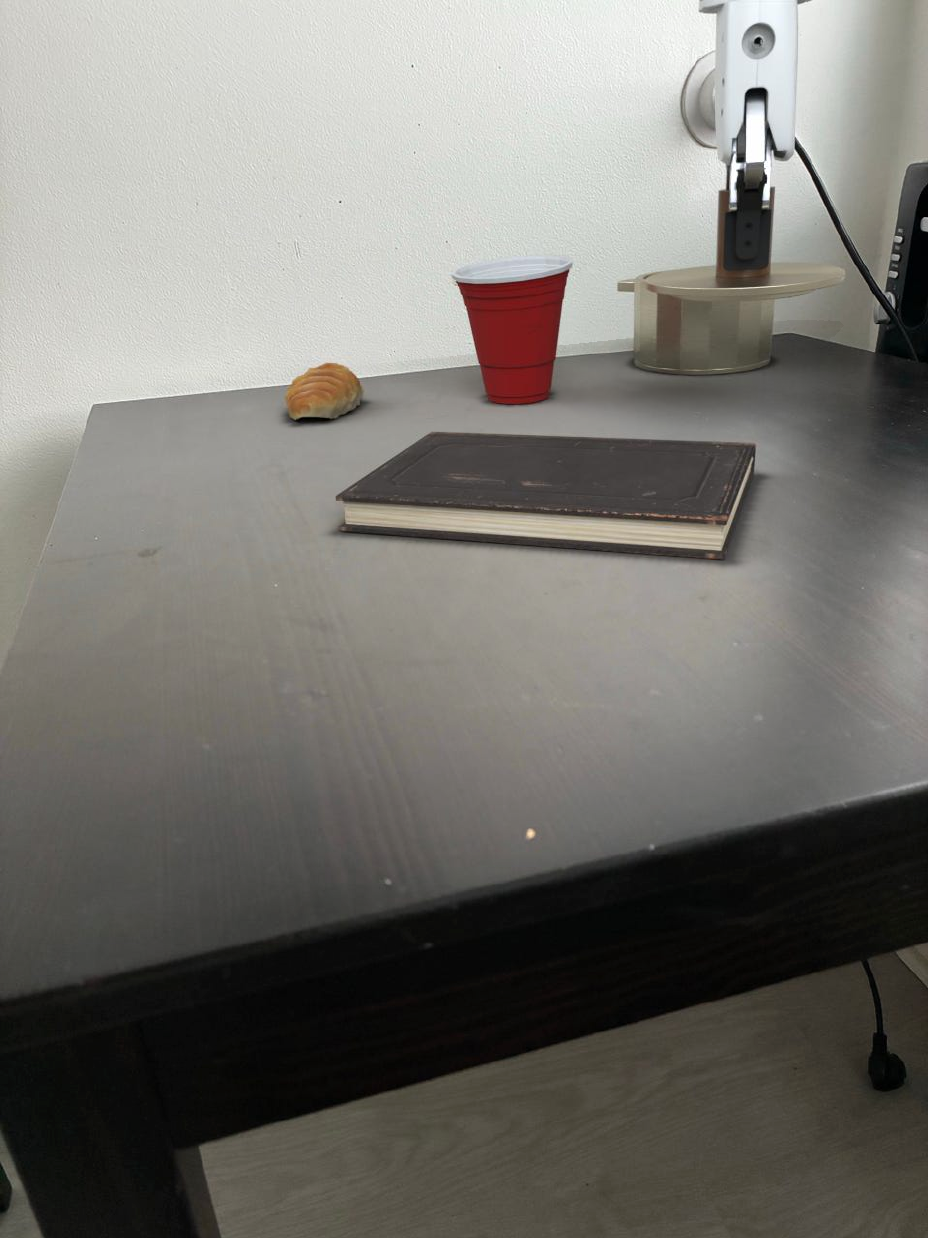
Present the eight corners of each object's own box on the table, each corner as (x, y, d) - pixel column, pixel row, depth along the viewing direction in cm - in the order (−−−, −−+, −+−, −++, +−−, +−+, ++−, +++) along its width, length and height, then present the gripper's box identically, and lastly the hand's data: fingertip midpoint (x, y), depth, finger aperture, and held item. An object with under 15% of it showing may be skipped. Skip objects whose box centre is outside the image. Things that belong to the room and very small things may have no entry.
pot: (655, 344, 113) (656, 265, 109) (818, 356, 101) (825, 268, 98) (587, 366, 104) (586, 280, 100) (758, 381, 92) (764, 285, 89)
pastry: (347, 423, 87) (342, 379, 85) (272, 427, 87) (266, 383, 86) (367, 399, 95) (363, 359, 94) (298, 402, 96) (293, 362, 94)
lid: (702, 276, 85) (704, 184, 82) (874, 279, 76) (884, 177, 73) (608, 302, 76) (607, 199, 72) (792, 309, 67) (800, 192, 64)
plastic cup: (434, 404, 92) (424, 267, 87) (507, 381, 99) (502, 254, 94) (528, 416, 85) (523, 269, 80) (598, 391, 92) (598, 254, 87)
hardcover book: (724, 560, 53) (726, 519, 52) (339, 531, 61) (335, 495, 60) (754, 474, 67) (756, 440, 66) (436, 459, 74) (434, 429, 73)
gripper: (832, -46, 59) (809, 276, 67) (799, -9, 74) (783, 251, 82) (703, -32, 61) (694, 282, 69) (696, 1, 76) (690, 256, 83)
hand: (743, 262), depth 75 cm, fingers closed on lid, 4 cm apart
